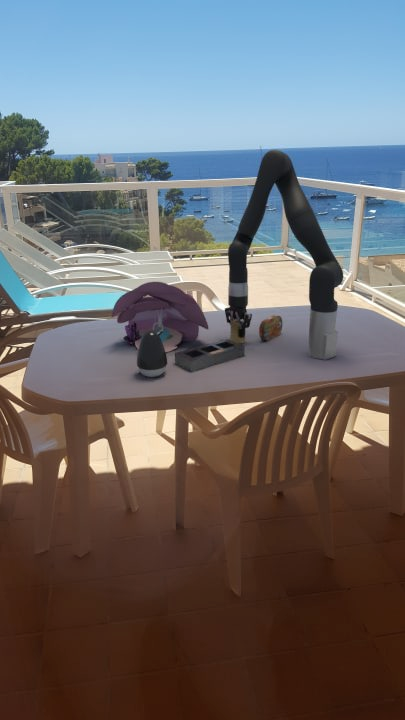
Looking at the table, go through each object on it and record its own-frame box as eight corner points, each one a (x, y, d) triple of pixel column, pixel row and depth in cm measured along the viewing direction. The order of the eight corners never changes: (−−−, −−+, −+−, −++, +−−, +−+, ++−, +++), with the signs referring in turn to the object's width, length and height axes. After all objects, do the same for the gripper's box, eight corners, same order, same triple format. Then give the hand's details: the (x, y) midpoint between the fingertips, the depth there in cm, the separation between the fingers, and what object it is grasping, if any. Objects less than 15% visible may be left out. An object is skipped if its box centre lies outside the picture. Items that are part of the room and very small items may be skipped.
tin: (264, 343, 194) (264, 322, 191) (257, 341, 195) (257, 321, 192) (282, 333, 205) (283, 313, 202) (276, 331, 207) (276, 312, 203)
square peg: (244, 342, 195) (245, 320, 192) (237, 344, 193) (237, 322, 189) (238, 339, 198) (238, 318, 195) (230, 342, 196) (230, 320, 192)
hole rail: (227, 348, 189) (227, 338, 187) (244, 355, 181) (244, 345, 180) (175, 363, 175) (174, 352, 174) (191, 372, 168) (191, 360, 166)
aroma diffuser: (174, 373, 167) (172, 330, 162) (151, 382, 160) (149, 338, 155) (154, 365, 174) (151, 324, 168) (131, 374, 167) (128, 332, 161)
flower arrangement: (121, 368, 185) (108, 301, 169) (115, 337, 204) (102, 274, 188) (211, 350, 191) (206, 284, 175) (196, 322, 210) (191, 260, 194)
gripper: (258, 295, 185) (257, 338, 191) (233, 288, 195) (233, 329, 202) (243, 298, 181) (242, 342, 187) (218, 291, 191) (219, 333, 198)
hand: (237, 335), depth 194 cm, fingers open, 4 cm apart
